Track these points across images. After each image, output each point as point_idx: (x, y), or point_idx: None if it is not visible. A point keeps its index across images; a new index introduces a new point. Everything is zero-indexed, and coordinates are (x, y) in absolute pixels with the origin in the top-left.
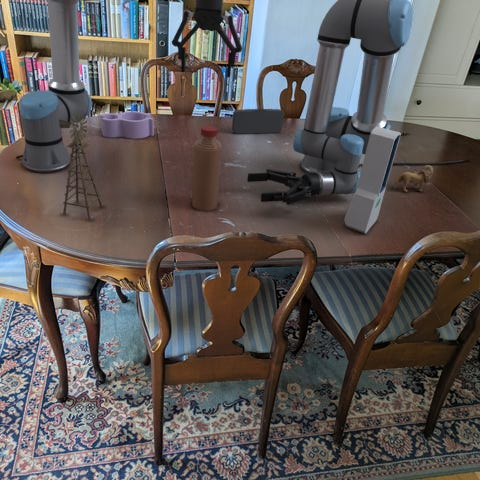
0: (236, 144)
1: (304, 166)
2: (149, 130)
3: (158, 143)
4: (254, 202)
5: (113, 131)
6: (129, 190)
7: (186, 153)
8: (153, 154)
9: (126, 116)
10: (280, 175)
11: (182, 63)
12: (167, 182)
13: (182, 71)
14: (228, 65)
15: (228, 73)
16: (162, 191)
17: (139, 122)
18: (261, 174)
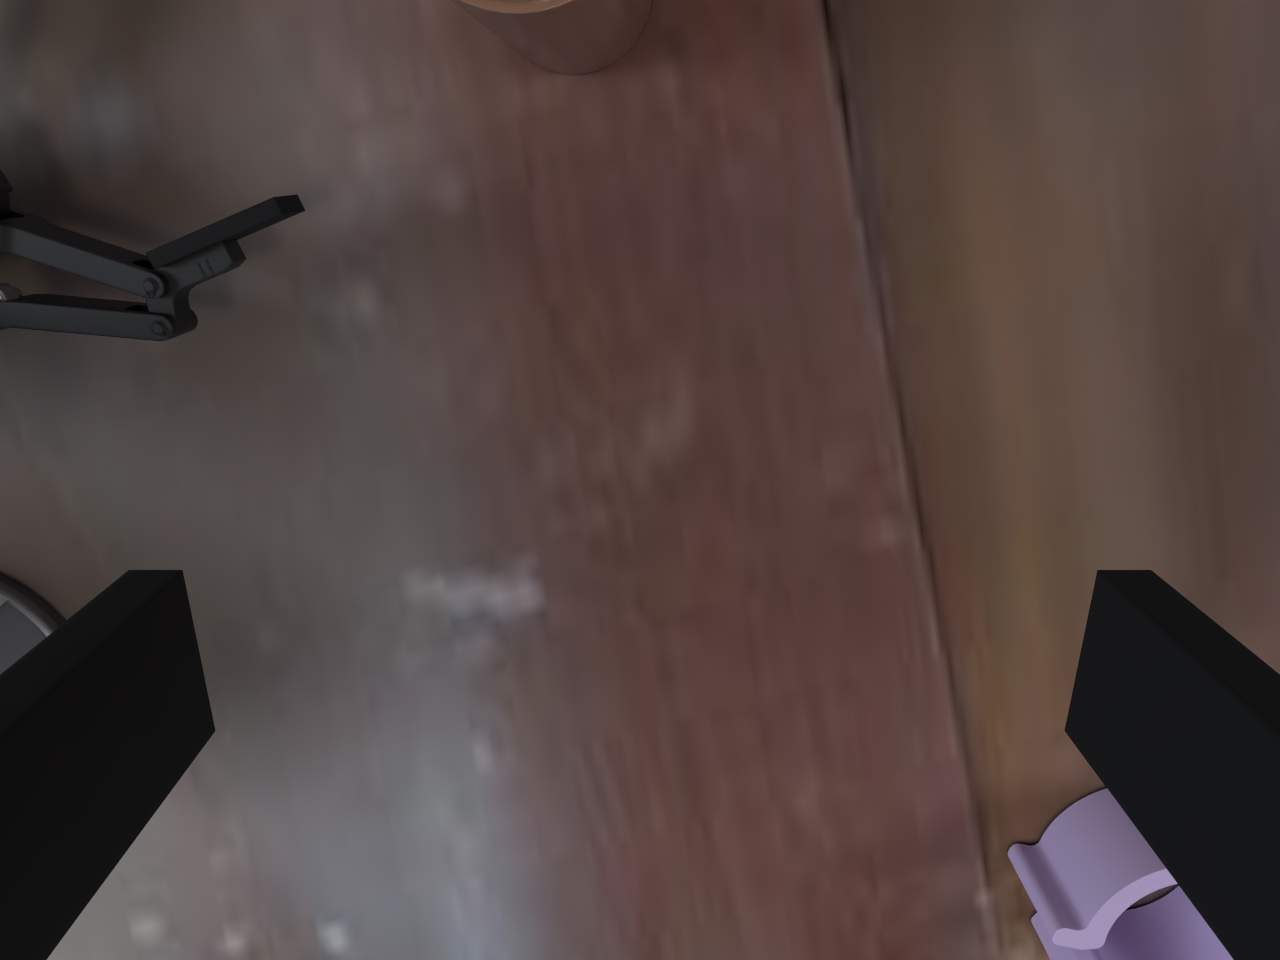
0: (514, 863)
1: (40, 633)
2: (1047, 869)
3: (968, 762)
4: (265, 105)
5: None
6: (1078, 62)
7: (786, 675)
8: (981, 611)
9: (1223, 957)
10: (53, 253)
11: (1241, 669)
12: (849, 246)
13: (1132, 578)
14: (4, 707)
15: (114, 609)
16: (865, 106)
17: (1139, 871)
18: (189, 235)
